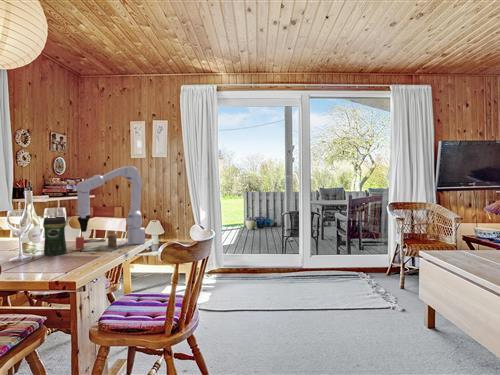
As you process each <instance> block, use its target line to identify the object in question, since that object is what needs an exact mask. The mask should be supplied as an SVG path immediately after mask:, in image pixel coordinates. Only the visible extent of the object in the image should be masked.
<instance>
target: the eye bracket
mask: <svg viewBox="0 0 500 375" xmlns="http://www.w3.org/2000/svg"><path fill="white" fill-rule="evenodd" d="M117 239H118V238H117V233H114V232H113V233H107V244H96V245H84V248H83V249H81V253H89V252H100V251H112V250H113V251H115V250H119V247H118V241H117Z"/></svg>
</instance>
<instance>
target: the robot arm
mask: <svg viewBox="0 0 500 375" xmlns="http://www.w3.org/2000/svg"><path fill="white" fill-rule="evenodd" d="M118 176H119V177H124V178H125V179H127V180H128V181H129V182H130V183H131V192H130V193H131V196H130V206H129V207H130V209H129V211H128V213H127V218H125V223H126V225H127V241H126V244H127V245H128V246H129V245H141V244H142V245H143V244H146V228H145V227H142V225H143V222H144V221H143V219H142V212H141V200H142V188H143V187H142V186H143V179H142V177H141V175H140V171H139V169H138V168H137V167H136V166H134V165H130V166H129V165H126V166H122V167H119V168H116V169H114V170H112V171H111V170H110V171H109V172H107V173H104V174H103V175H101V174H94V175H93V176H92V177H90V178H85V179H84V180H83V181H79V182H78V183H77V184H76V187H75V190H76V191H77V212H76V213H74V215H75V216H78V218H77V222H78V223H79V227H80V231H81V232H82V233H86V232H87V229H88V223H89V220H90V218H91V216H90V215H91V203H90V202H91V201H90V191H91V190H94V189H96V188H99V187H101V186H104V183H105V182H106V181H108V180H111V179H114V178H116V177H118Z"/></svg>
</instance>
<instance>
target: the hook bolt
mask: <svg viewBox="0 0 500 375" xmlns="http://www.w3.org/2000/svg"><path fill="white" fill-rule="evenodd" d="M106 240H107V239H106V238H104V237H101V238H87V239H85V236H76V237H75V250H79V249H80V250H82V249H83V248H84V246H85V244H90V243H104V242H106Z"/></svg>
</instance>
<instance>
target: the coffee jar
mask: <svg viewBox="0 0 500 375" xmlns="http://www.w3.org/2000/svg"><path fill="white" fill-rule="evenodd" d="M48 217H49V216H47V217H44V219H43V223H42V226H43V229H44V244H43V255H44V256H49V257H51V256H61V255H63V254H66V253H67V251H68V249H67V241H66V235H65V234H66V232H65V231H66V230H65V228H66V226H67V221H66V217H65V216H64V217H56V218H48Z"/></svg>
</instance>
